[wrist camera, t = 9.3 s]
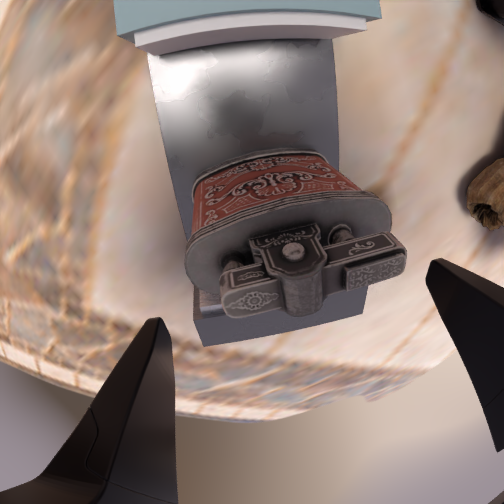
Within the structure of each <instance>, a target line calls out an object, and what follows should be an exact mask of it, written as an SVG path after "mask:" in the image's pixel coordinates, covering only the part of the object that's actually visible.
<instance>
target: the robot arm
mask: <svg viewBox="0 0 504 504" xmlns="http://www.w3.org/2000/svg"><path fill="white" fill-rule="evenodd" d="M477 5H478V8H479V10H480V11H481V12H483V13H484V14H486V15H488V16H489V17H491V18H493V19H494V20H496V21H497V22H499V23H501V24H502V25H504V0H477ZM426 285H427V287H428V290H429V292H430V294H431V296H432V298H433V300H434V303H435V305H436V307H437V309H438V312H439V314H440V316H441V319H442V321H443V323H444V324H445V326H446V328H447V330H448V332H449V334H450V336H451V338H452V340H453V342H454V344H455V346H456V348H457V350H458V352H459V354H460V356H461V358H462V361H463V363H464V365H465V367H466V369H467V372H468V374H469V376H470V378H471V381H472V383H473V386H474V388H475V390H476V393H477V395H478V398H479V401H480V403H481V406H482V408H483V412H484V414H485V417H486V420H487V423H488V426H489V429H490V432H491V435H492V439H493V442H494V445H495V449H496V451H497V452H499V451H501V450H502V449H504V288H503V287H501V286H499V285H497V284H495V283H493V282H491V281H489V280H487V279H485V278H483V277H481V276H479V275H477V274H475V273H473V272H471V271H469V270H466V269H464V268H462V267H460V266H458V265H456V264H454V263H451V262H449V261H447V260H445V259H442V258H438V259H434V260H432V261H431V262H430V265H429V269H428V272H427V275H426ZM175 449H176V448H175V377H174V366H173V354H172V342H171V336H170V334H169V332H168V330H167V328H166V325H165V323H164V321H163V319H162V318H160V317H156V318H149V319H148V320H147V321H146V322H145V323H144V325H143V326H142V328H141V329H140V331H139V332H138V333H137V335H136V336H135V338H134V339H133V341H132V342H131V344H130V345H129V347H128V348H127V349H126V351H125V352H124V354H123V355H122V357H121V358H120V360H119V361H118V363H117V364H116V366H115V367H114V369H113V370H112V372H111V373H110V375H109V376H108V378H107V379H106V381H105V383H104V384H103V386H102V387H101V389H100V390H99V392H98V393H97V395H96V397H95V398H94V400H93V401H92V403H91V404H90V407H89V408H88V409H87V411H86V412H85V414H84V416H83V417H82V419H81V420H80V422H79V423H78V425H77V426H76V428H75V429H74V431H73V432H72V433H71V435H70V436H69V438H68V439H67V440H66V442H65V443H64V444H63V446H62V447H61V449H60V450H59V451H58V452H57V454H56V455H55V456H54V458H53V459H52V461H51V462H50V463H49V464H48V466H47V467H46V468H45V470H44V471H43V472H42V473H41V474H40V475H39V476H37V477H36V478H35V479H33V480H31V481H29V482H27V483H24V484H21V485H19V486H16V487H13V488H10V489H7V490H5V491H2V492H0V504H178V492H177V475H176V450H175ZM488 504H504V491H503V492H502V493H500V494H499V495H498V496H497V497H496V498H494V499H493V500H492V501H491V502H490V503H488Z"/></svg>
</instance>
